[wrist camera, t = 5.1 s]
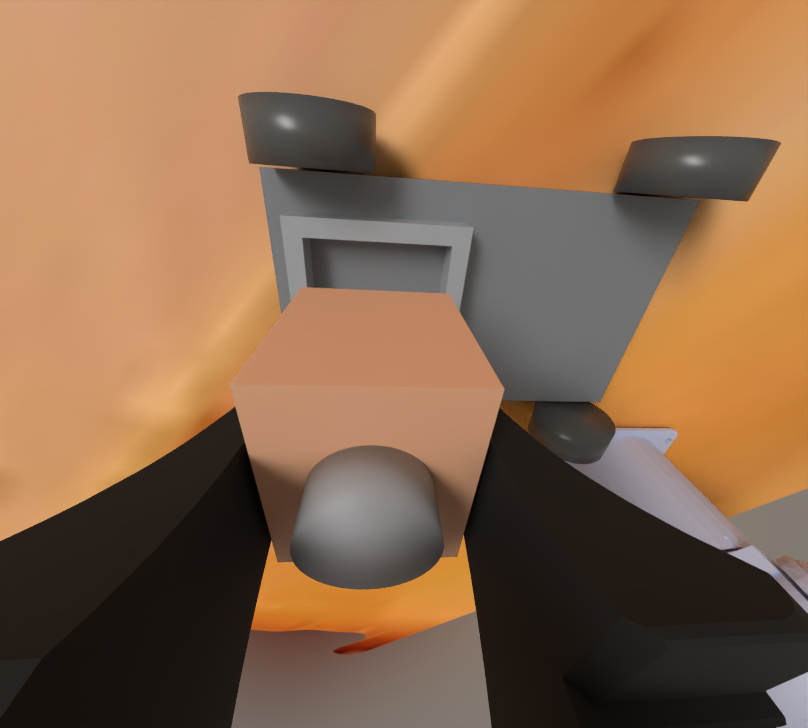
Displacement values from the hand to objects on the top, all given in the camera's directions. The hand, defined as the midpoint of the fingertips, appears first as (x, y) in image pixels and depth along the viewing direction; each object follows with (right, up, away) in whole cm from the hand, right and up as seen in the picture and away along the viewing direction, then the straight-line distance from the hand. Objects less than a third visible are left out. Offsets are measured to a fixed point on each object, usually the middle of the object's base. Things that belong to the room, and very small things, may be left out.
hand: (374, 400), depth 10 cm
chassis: (+4, +4, +8) cm, 10 cm away
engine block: (0, +1, +1) cm, 1 cm away
